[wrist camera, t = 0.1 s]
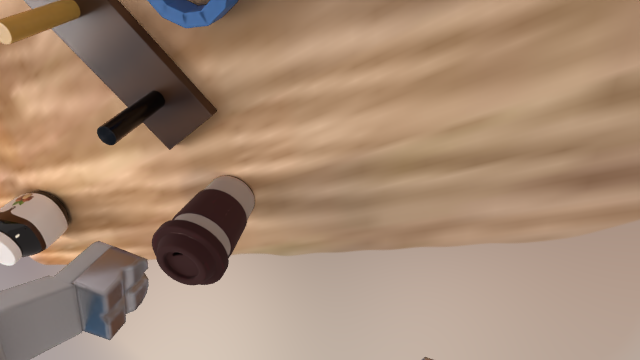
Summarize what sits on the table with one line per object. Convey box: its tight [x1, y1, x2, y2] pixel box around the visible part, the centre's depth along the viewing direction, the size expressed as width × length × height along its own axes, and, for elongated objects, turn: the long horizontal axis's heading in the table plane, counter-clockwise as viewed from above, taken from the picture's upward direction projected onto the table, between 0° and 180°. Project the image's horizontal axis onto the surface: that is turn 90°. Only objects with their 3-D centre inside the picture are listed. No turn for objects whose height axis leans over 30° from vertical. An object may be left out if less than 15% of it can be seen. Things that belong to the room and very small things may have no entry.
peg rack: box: [0, 0, 217, 150], centre depth 51 cm, size 26×10×12 cm, turn 41°
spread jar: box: [0, 191, 69, 265], centre depth 76 cm, size 12×11×12 cm
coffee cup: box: [152, 176, 255, 285], centre depth 59 cm, size 10×10×15 cm
